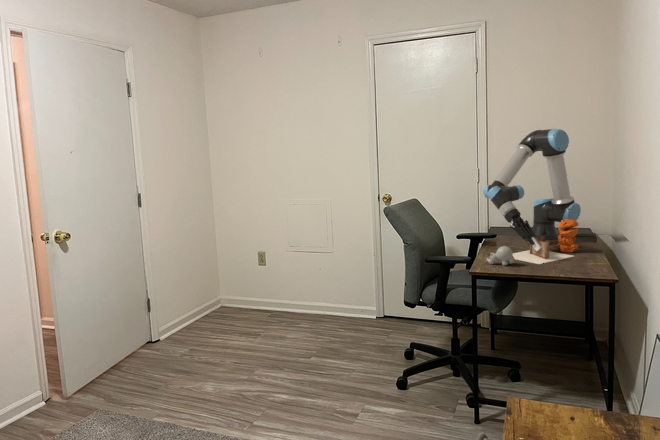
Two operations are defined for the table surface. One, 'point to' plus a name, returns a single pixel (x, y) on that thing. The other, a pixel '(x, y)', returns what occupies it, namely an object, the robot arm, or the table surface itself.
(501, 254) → the toy rhinoceros
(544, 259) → the card
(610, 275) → the table surface
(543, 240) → the fence fixed
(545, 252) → the fence gate
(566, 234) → the toy dinosaur
